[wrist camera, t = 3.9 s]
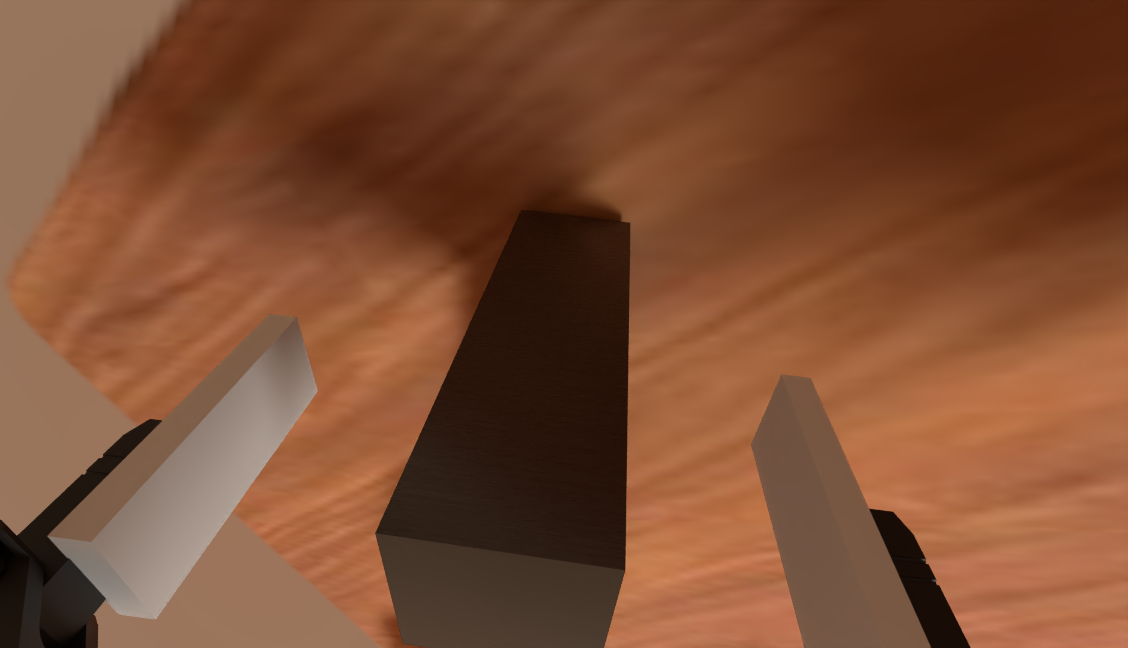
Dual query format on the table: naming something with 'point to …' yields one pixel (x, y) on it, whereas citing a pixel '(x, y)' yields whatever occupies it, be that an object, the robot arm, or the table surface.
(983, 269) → the table surface
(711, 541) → the table surface
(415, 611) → the piston
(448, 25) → the table surface
